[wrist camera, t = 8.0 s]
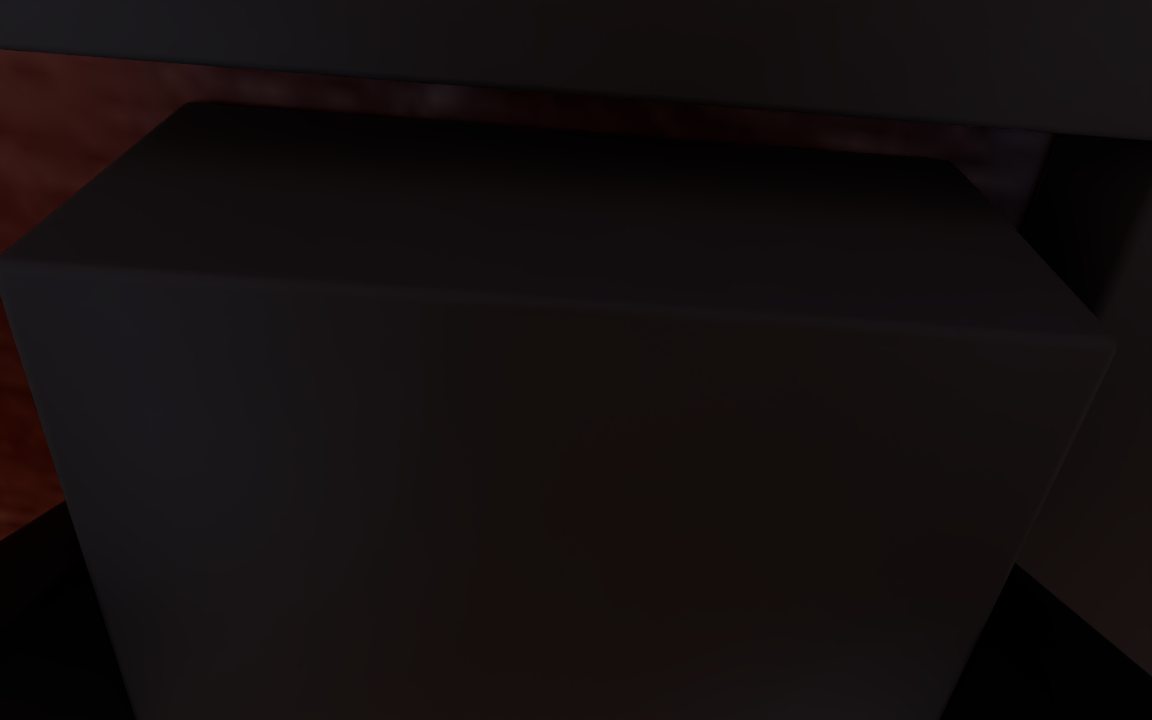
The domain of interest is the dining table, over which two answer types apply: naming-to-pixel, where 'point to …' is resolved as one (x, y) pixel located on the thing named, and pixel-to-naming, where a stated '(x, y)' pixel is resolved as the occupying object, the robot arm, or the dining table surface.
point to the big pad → (804, 85)
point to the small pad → (541, 419)
